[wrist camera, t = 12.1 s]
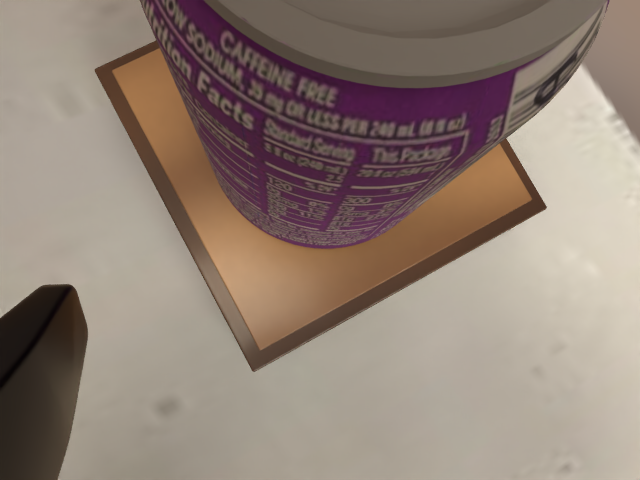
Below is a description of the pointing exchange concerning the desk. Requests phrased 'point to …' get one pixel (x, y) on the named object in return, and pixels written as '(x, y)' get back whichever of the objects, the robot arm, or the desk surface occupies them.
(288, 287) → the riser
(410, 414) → the desk surface
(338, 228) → the beverage can
